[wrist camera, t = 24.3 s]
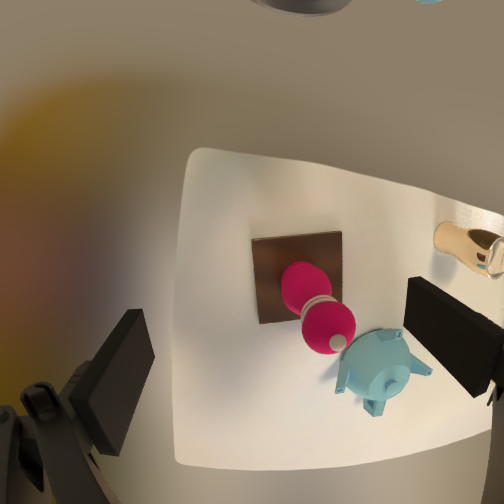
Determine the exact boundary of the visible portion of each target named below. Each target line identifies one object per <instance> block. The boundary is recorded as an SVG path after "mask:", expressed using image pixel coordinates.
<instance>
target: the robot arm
mask: <svg viewBox="0 0 504 504" xmlns="http://www.w3.org/2000/svg"><path fill="white" fill-rule="evenodd" d="M415 1H417V2H421V3H424V4H432V3H436V2H439V1H442V0H415ZM403 326H404V327H405V328H406V329H407V330H408V331H409V332H410V333H411V334H412V335H413V336H414V337H415V338H416V339H417V340H418V341H419V342H420V343H421V344H422V345H423V346H424V347H425V348H426V349H427V350H428V351H429V352H430V353H431V354H432V355H433V356H434V357H435V358H436V359H437V360H438V361H439V362H440V363H441V364H442V365H443V366H444V367H445V368H446V369H447V370H448V371H449V373H450V374H451V375H452V376H453V377H454V378H455V379H456V380H457V381H458V382H459V383H460V384H461V385H462V386H463V387H464V388H465V389H466V390H467V392H468V393H469V394H470V395H471V396H472V397H473V398H475V397H477V396H479V395H481V394H483V393H485V392H486V391H487V389H488V386H489V384H490V381H491V380H492V381H493V382H494V383H495V387H494V389H493V391H492V394H491V396H490V398H489V401H488V403H487V406H489V405H490V403H491V401H493V405H492V406H493V413H492V432H491V444H490V453H489V461H488V468H487V475H486V481H485V486H484V491H483V496H482V501H481V504H504V329H503V328H501V327H500V326H498V325H497V324H494V322H493V321H491V320H490V319H489V320H488V318H487V317H485V316H484V315H482V314H481V313H478V312H475V311H474V310H472V309H471V308H469V307H468V306H466V305H464V304H463V303H461V302H460V301H458V300H457V299H455V298H454V297H452V296H451V295H449V294H448V293H446V292H444V291H443V290H441V289H440V288H438V287H437V286H435V285H433V284H432V283H430V282H429V281H427V280H425V279H424V278H422V277H421V276H418V277H413V278H408V288H407V298H406V308H405V316H404V324H403ZM154 359H155V355H154V352H153V348H152V345H151V341H150V337H149V334H148V330H147V326H146V322H145V318H144V314H143V310H142V309H130V310H127V311H126V313H125V314H124V315H123V317H122V318H121V320H120V321H119V322H118V324H117V325H116V327H115V328H114V329H113V331H112V332H111V334H110V335H109V336H108V338H107V340H106V341H105V342H104V344H103V345H102V347H101V348H100V349H99V351H98V352H97V354H96V355H95V357H94V358H93V360H92V361H85V362H84V363H83V364H81V365H80V366H79V367H78V368H77V369H76V370H75V372H74V373H73V376H71V378H70V379H69V380H68V383H66V385H65V386H64V388H63V389H62V391H61V392H60V394H59V395H58V396H57V394H56V392H55V390H54V388H53V386H52V385H51V384H50V383H47V382H38V383H34V384H32V385H30V386H28V387H27V388H25V389H24V390H23V392H22V393H21V396H20V400H21V401H22V404H23V405H24V407H25V409H26V411H27V412H28V414H29V415H28V416H18V415H17V414H16V412H15V410H14V409H13V408H12V407H11V406H9V405H2V406H0V504H52V502H51V491H50V486H51V489H52V491H53V494H54V496H55V499H56V502H57V504H121V502H120V501H119V499H118V498H117V496H116V494H115V493H114V491H113V490H112V488H111V486H110V485H109V483H108V481H107V480H106V478H105V476H104V475H103V473H102V471H101V469H100V467H99V466H98V464H97V462H96V460H95V459H94V457H93V455H92V453H91V452H90V451H91V449H92V446H93V444H94V445H95V447H96V448H97V450H98V451H99V453H100V454H104V455H111V456H119V454H120V451H121V448H122V446H123V443H124V440H125V437H126V434H127V431H128V428H129V425H130V422H131V419H132V417H133V414H134V412H135V409H136V406H137V403H138V400H139V398H140V395H141V392H142V390H143V387H144V384H145V382H146V379H147V376H148V374H149V371H150V369H151V366H152V364H153V361H154Z"/></svg>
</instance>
